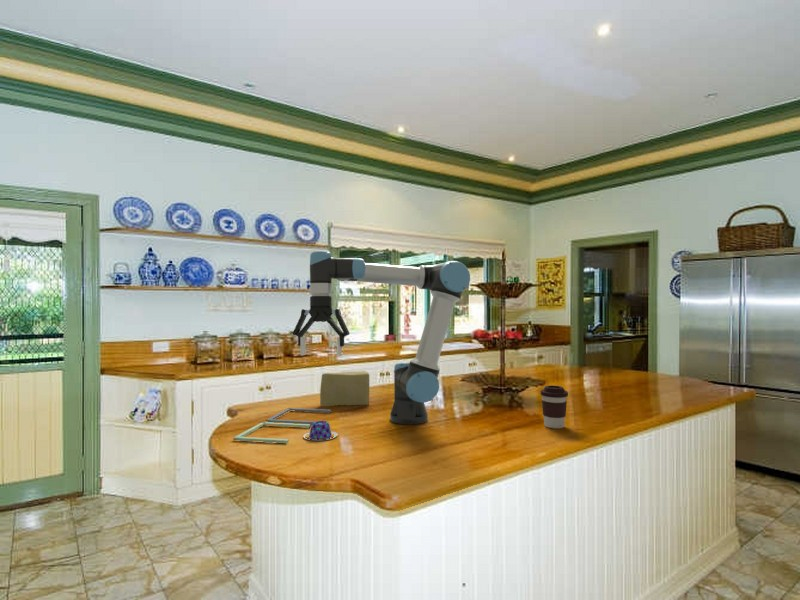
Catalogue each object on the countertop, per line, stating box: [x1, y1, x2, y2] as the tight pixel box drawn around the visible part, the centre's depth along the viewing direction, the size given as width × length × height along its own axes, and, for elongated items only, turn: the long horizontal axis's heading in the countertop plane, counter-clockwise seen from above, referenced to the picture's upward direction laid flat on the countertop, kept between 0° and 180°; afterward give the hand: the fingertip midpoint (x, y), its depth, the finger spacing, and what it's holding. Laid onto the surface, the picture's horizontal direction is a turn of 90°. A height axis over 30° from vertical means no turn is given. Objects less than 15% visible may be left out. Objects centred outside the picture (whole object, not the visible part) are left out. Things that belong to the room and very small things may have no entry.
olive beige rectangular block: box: [319, 370, 370, 407], centre depth 215 cm, size 22×10×15 cm, turn 106°
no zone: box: [265, 407, 332, 426], centre depth 191 cm, size 20×21×1 cm
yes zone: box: [232, 421, 311, 444], centre depth 167 cm, size 20×21×1 cm
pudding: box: [302, 420, 339, 441], centre depth 164 cm, size 12×12×5 cm
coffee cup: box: [540, 385, 569, 430], centre depth 176 cm, size 10×10×15 cm
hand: (321, 355), depth 164 cm, fingers open, 13 cm apart
